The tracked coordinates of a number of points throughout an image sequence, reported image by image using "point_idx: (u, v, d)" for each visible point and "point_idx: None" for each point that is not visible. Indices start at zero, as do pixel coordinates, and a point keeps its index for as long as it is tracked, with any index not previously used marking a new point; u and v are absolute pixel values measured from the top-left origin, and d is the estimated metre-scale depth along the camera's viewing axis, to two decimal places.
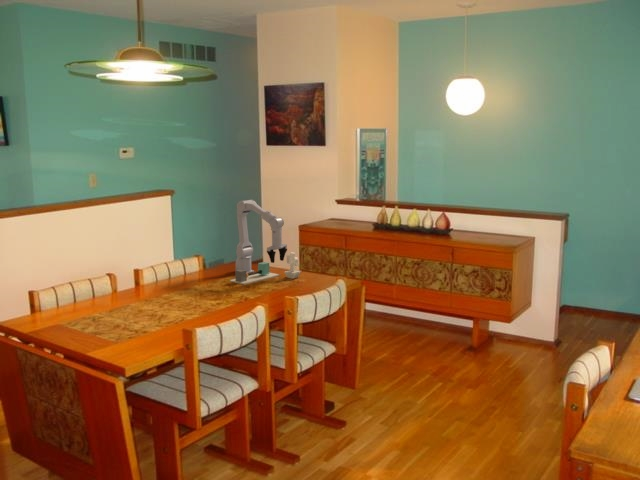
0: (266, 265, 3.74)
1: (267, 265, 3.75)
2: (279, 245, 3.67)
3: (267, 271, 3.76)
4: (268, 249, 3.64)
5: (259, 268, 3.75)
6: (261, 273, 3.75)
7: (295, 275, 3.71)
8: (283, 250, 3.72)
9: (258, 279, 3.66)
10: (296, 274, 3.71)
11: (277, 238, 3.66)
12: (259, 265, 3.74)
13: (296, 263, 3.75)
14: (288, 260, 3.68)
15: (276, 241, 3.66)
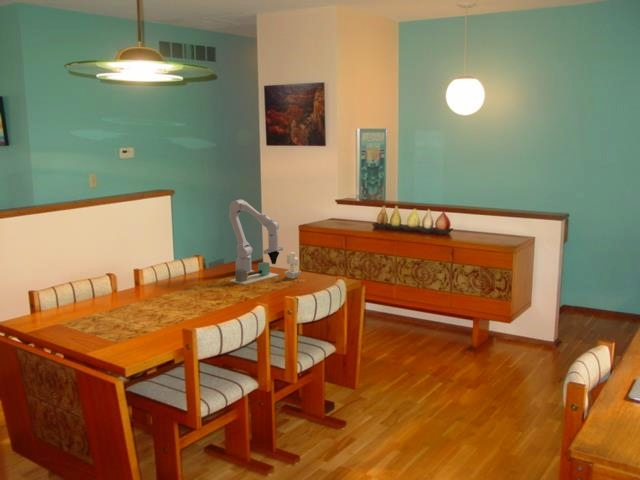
0: (266, 265, 3.74)
1: (267, 265, 3.75)
2: (275, 248, 3.78)
3: (267, 271, 3.76)
4: (265, 252, 3.75)
5: (259, 268, 3.75)
6: (261, 273, 3.75)
7: (295, 275, 3.71)
8: None
9: (258, 279, 3.66)
10: (296, 274, 3.71)
11: (275, 241, 3.77)
12: (259, 265, 3.74)
13: (296, 263, 3.75)
14: (288, 260, 3.68)
15: (272, 244, 3.77)
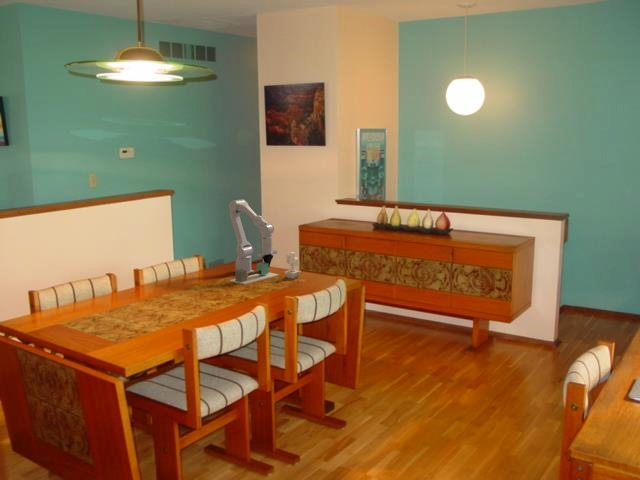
0: (265, 265, 3.74)
1: (266, 265, 3.74)
2: (269, 251, 3.74)
3: (266, 271, 3.75)
4: (258, 255, 3.71)
5: (258, 268, 3.74)
6: (260, 273, 3.74)
7: (295, 275, 3.71)
8: None
9: (258, 279, 3.66)
10: (296, 274, 3.71)
11: (268, 244, 3.73)
12: (258, 265, 3.74)
13: (296, 263, 3.75)
14: (288, 260, 3.68)
15: (266, 247, 3.73)
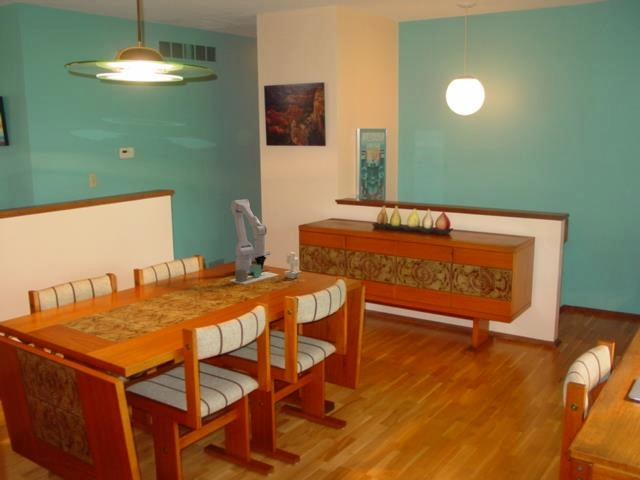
0: (258, 267, 3.69)
1: (259, 267, 3.70)
2: (262, 253, 3.70)
3: (259, 273, 3.71)
4: (251, 257, 3.67)
5: (251, 270, 3.70)
6: (253, 275, 3.70)
7: (295, 275, 3.71)
8: None
9: (258, 279, 3.66)
10: (296, 274, 3.71)
11: (259, 246, 3.69)
12: (251, 267, 3.69)
13: (296, 263, 3.75)
14: (288, 260, 3.68)
15: (259, 249, 3.69)
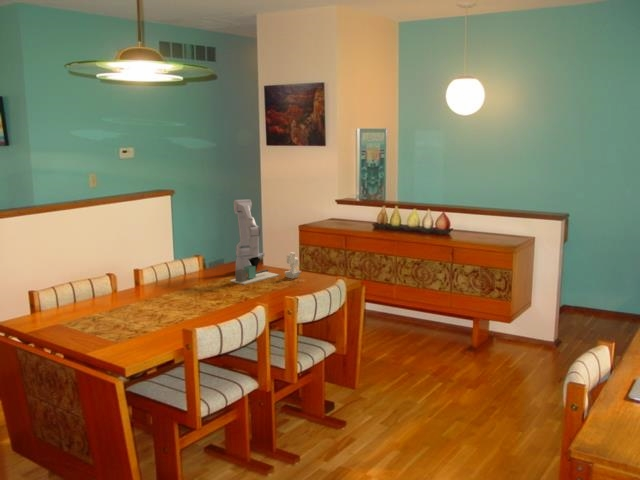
0: (252, 268, 3.66)
1: (253, 268, 3.67)
2: (256, 254, 3.66)
3: (253, 274, 3.67)
4: (245, 258, 3.63)
5: None
6: None
7: (295, 275, 3.71)
8: None
9: (258, 279, 3.66)
10: (296, 274, 3.71)
11: (251, 247, 3.65)
12: (245, 268, 3.66)
13: (296, 263, 3.75)
14: (288, 260, 3.68)
15: (253, 250, 3.65)
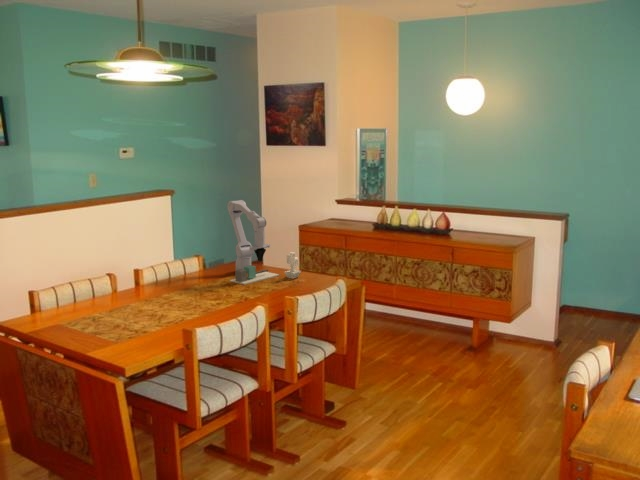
0: (252, 268, 3.66)
1: (253, 268, 3.67)
2: (262, 245, 3.71)
3: (253, 274, 3.67)
4: (251, 249, 3.68)
5: None
6: None
7: (295, 275, 3.71)
8: None
9: (258, 279, 3.66)
10: (296, 274, 3.71)
11: (259, 238, 3.70)
12: (245, 268, 3.66)
13: (296, 263, 3.75)
14: (288, 260, 3.68)
15: (259, 241, 3.70)
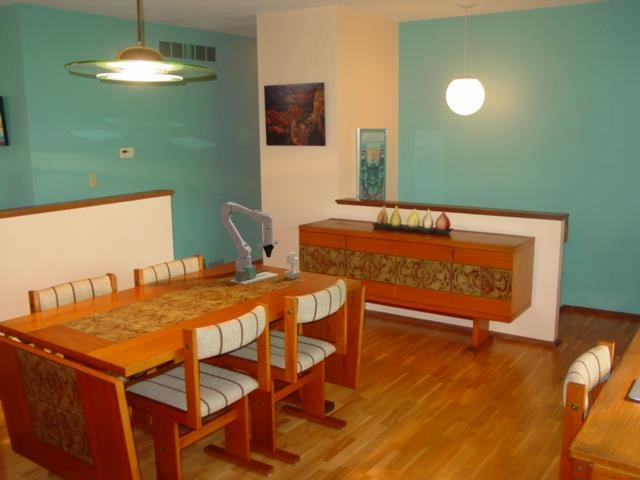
0: (252, 268, 3.66)
1: (253, 268, 3.67)
2: (270, 241, 3.81)
3: (253, 274, 3.67)
4: (259, 245, 3.78)
5: None
6: None
7: (295, 275, 3.71)
8: None
9: (258, 279, 3.66)
10: (296, 274, 3.71)
11: (270, 234, 3.80)
12: (245, 268, 3.66)
13: (296, 263, 3.75)
14: (288, 260, 3.68)
15: (267, 237, 3.80)
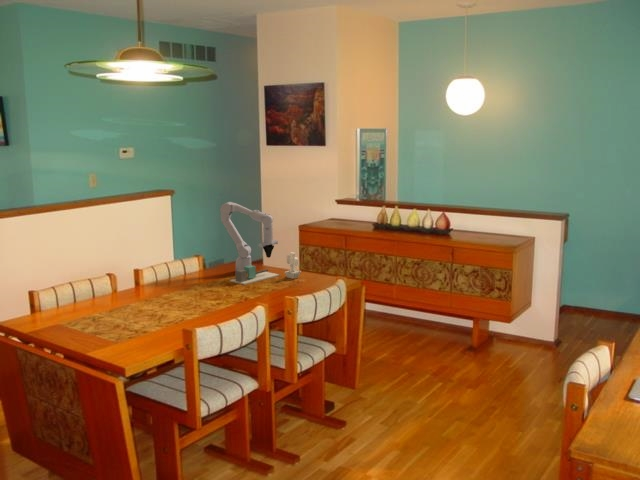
0: (252, 268, 3.66)
1: (253, 268, 3.67)
2: (270, 241, 3.81)
3: (253, 274, 3.67)
4: (259, 245, 3.78)
5: None
6: None
7: (295, 275, 3.71)
8: None
9: (258, 279, 3.66)
10: (296, 274, 3.71)
11: (270, 234, 3.80)
12: (245, 268, 3.66)
13: (296, 263, 3.75)
14: (288, 260, 3.68)
15: (267, 237, 3.80)
